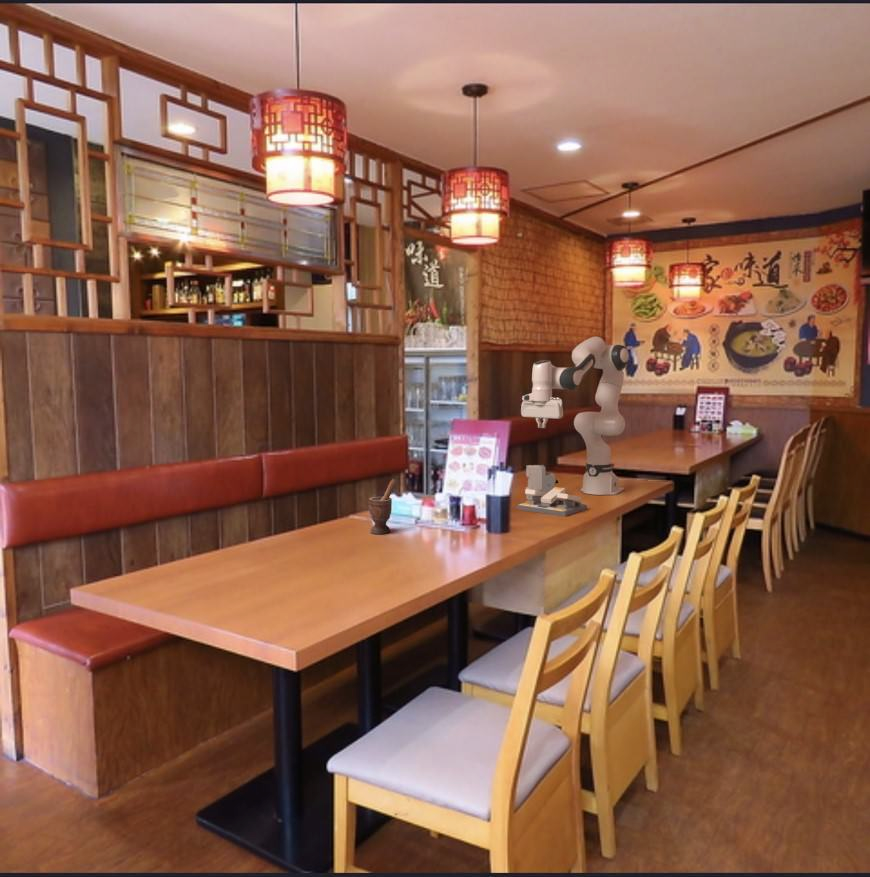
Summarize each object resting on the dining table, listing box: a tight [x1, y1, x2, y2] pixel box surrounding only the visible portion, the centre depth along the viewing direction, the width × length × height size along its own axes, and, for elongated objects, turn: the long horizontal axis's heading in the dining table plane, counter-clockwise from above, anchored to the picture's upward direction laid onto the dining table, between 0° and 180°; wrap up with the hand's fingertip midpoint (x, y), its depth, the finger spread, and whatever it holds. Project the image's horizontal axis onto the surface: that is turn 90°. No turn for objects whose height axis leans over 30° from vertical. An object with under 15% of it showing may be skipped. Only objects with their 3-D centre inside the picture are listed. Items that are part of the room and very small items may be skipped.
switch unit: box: [516, 496, 588, 517], centre depth 317 cm, size 18×24×5 cm
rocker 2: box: [541, 486, 566, 504], centre depth 318 cm, size 12×5×2 cm, turn 139°
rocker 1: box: [524, 488, 548, 497], centre depth 323 cm, size 12×5×2 cm, turn 139°
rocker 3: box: [557, 493, 582, 503], centre depth 312 cm, size 12×5×2 cm, turn 139°
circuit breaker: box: [525, 464, 559, 501], centre depth 342 cm, size 8×14×15 cm, turn 89°
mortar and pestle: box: [368, 478, 399, 535], centre depth 280 cm, size 12×9×20 cm
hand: (541, 427), depth 328 cm, fingers closed
